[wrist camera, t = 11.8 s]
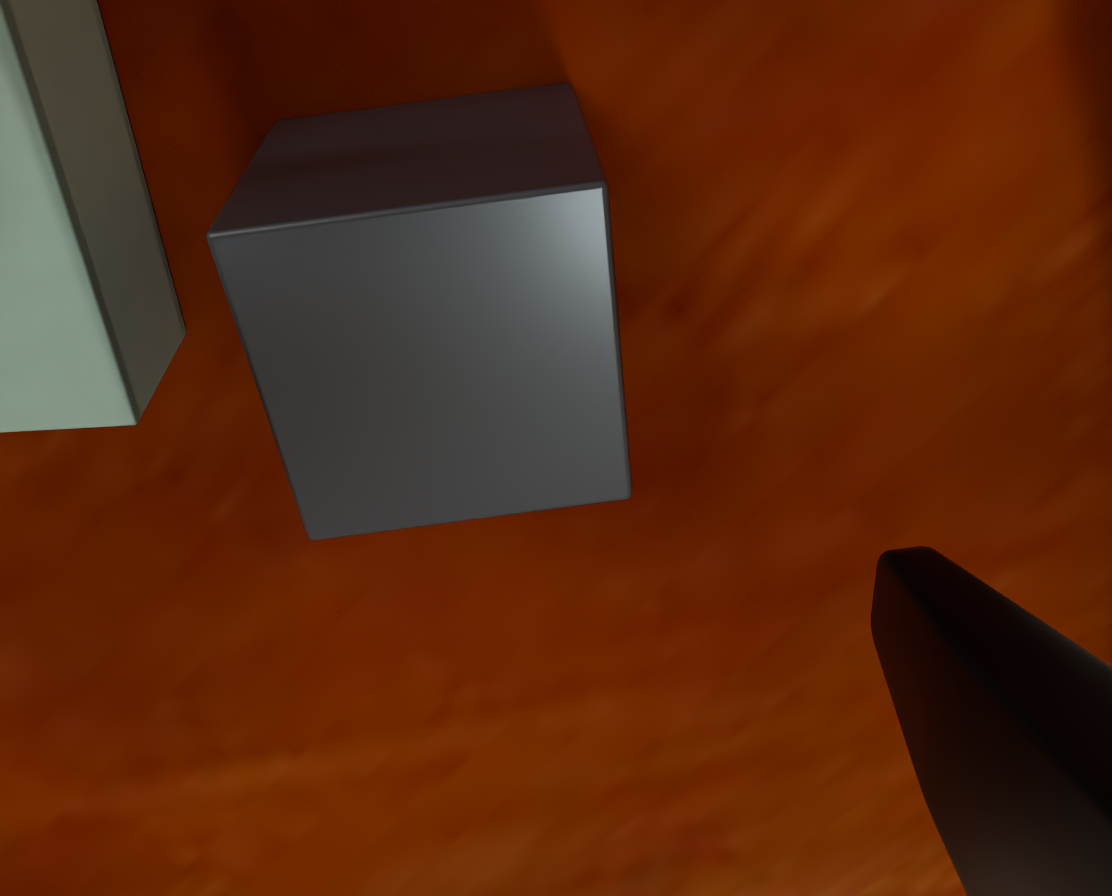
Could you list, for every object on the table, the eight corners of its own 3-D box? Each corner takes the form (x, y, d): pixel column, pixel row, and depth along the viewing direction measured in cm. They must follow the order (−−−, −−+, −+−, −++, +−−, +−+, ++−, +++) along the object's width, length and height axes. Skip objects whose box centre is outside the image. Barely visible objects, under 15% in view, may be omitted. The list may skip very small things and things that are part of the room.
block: (597, 344, 18) (633, 500, 14) (344, 378, 18) (307, 543, 14) (572, 80, 16) (608, 180, 12) (272, 119, 16) (202, 234, 12)
